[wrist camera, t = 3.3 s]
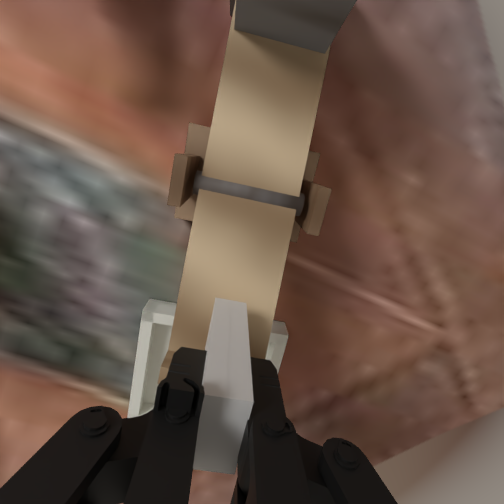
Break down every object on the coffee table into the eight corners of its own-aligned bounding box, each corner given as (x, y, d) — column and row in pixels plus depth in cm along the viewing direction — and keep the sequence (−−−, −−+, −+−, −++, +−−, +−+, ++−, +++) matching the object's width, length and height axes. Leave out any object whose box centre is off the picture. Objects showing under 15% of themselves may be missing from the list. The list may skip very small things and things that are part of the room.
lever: (244, -71, 16) (255, -203, 11) (349, -39, 17) (403, -151, 12) (150, 419, 18) (122, 495, 13) (250, 433, 18) (262, 510, 13)
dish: (149, 298, 25) (142, 310, 23) (284, 322, 26) (288, 335, 24) (134, 403, 27) (126, 422, 25) (257, 421, 28) (259, 440, 27)
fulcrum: (192, 124, 21) (172, 109, 14) (314, 153, 22) (350, 152, 15) (178, 213, 23) (153, 238, 16) (292, 237, 24) (316, 270, 17)
